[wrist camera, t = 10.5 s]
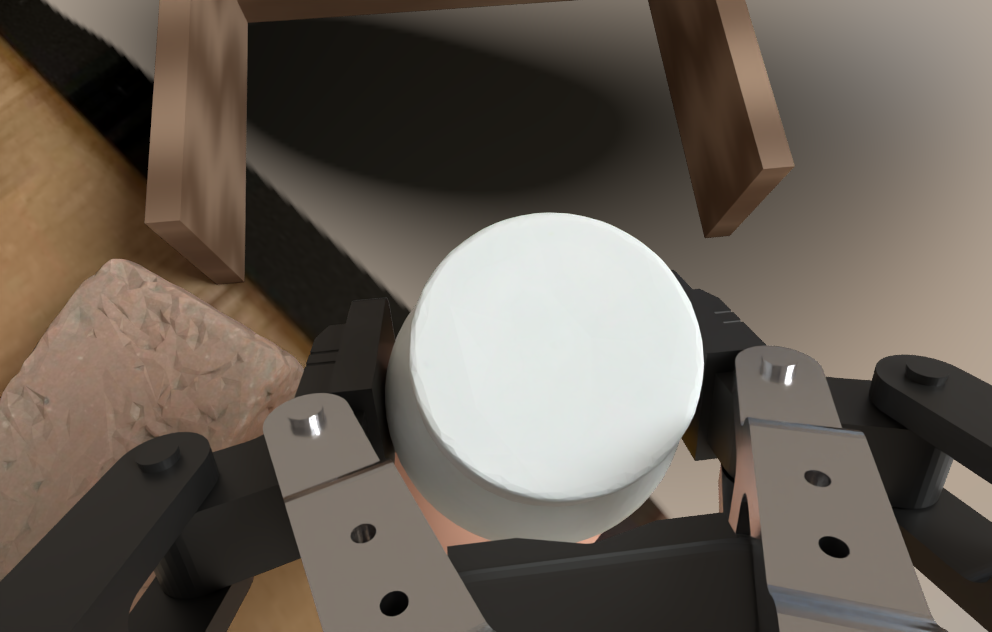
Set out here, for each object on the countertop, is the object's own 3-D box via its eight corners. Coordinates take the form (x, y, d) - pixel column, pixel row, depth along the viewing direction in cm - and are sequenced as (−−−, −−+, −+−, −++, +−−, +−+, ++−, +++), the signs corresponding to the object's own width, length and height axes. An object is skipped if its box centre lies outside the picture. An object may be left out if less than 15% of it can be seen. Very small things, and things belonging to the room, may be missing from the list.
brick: (55, 776, 21) (-58, 848, 17) (-120, 646, 22) (-271, 680, 18) (325, 377, 26) (293, 349, 21) (170, 285, 27) (109, 240, 22)
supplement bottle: (419, 539, 16) (341, 577, 7) (417, 347, 18) (351, 172, 9) (618, 528, 16) (794, 550, 7) (597, 339, 18) (719, 161, 9)
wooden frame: (224, 5, 31) (166, -107, 25) (664, -24, 32) (704, -137, 27) (216, 284, 26) (144, 223, 21) (729, 235, 28) (794, 166, 22)
